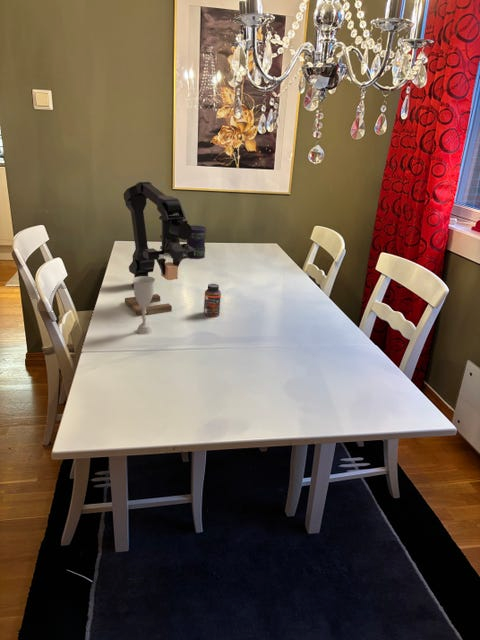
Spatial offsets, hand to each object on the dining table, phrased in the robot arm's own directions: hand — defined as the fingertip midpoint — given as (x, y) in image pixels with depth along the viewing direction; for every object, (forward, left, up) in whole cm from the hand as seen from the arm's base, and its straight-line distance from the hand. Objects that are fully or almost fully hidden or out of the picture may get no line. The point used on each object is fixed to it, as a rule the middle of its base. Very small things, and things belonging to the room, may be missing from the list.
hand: (169, 274), depth 184 cm
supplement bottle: (+17, +10, -11) cm, 23 cm away
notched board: (+2, -9, -11) cm, 15 cm away
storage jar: (-56, +39, -11) cm, 69 cm away
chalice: (+22, -18, -11) cm, 31 cm away
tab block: (0, 0, -1) cm, 1 cm away
